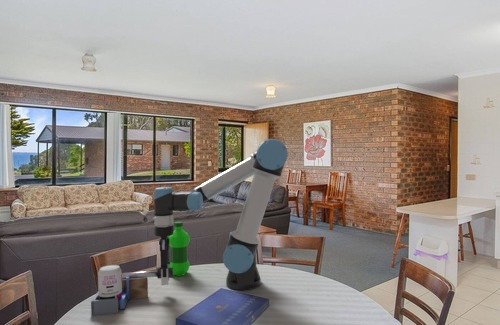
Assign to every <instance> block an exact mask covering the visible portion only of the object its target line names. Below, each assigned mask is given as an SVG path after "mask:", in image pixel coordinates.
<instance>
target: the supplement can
mask: <svg viewBox="0 0 500 325" xmlns="http://www.w3.org/2000/svg"><path fill="white" fill-rule="evenodd" d="M122 273H123V272H122V269H121V267H120V265H118V264H109V265H108V264H107V265H104V266H101V267H99V270H98V271H97V290H98V291H97V292H98V300H102V299H113V298H118V309H120V298H121V296H122Z"/></svg>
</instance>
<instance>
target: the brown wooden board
mask: <svg viewBox="0 0 500 325" xmlns="http://www.w3.org/2000/svg"><path fill="white" fill-rule="evenodd" d="M148 278H149V277H148ZM148 278H135V279H129V281H130V299H129V300H132V299H133V300H134V299H144V298H148V297H149V285H148V284H149V282H148V281H149V280H148ZM122 287H124V291H126V279H122Z"/></svg>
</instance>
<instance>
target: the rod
mask: <svg viewBox="0 0 500 325" xmlns="http://www.w3.org/2000/svg"><path fill="white" fill-rule="evenodd" d="M159 268H160V267H158V268H157V270H149V271H148V270H147V271H134V272H133V271H132V272H131V271H130V272H122V279H126V291H124V292H123V294H122V296H121V298H120V307H119V310H124V309H125V308H126V305H127V303H128V301H129V300H131V299H130V281H129V279H135V278H157V279H158V280H161V269H159ZM168 278H169V279H171V278H174V274H173V267H171V268H168Z"/></svg>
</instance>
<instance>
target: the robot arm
mask: <svg viewBox="0 0 500 325" xmlns="http://www.w3.org/2000/svg"><path fill="white" fill-rule="evenodd" d="M288 151H289V150H288V148H287V146H286V145H285V143H284V142H283V141H281V140H279V139H276V138H267V139H265V140H263V141H262V142H261V143H260V144H259V146H258V147H257V148H256V151H253V152H251V155H250V156H249V157H248V158H246V159H245V160H242V161H240V162H239V163H237V164H235V165H234V166H233V165H232V166H231V167H230V168H229V169H227V170H225V171H222V173H219V174H218V175H216V176H214V177H212V178H210V179H209V180H207V181H205V182H203V183H202V184H200V185H198V186H196V187H194V188H193V189H191V190H187V191H178V192H177V191H174V190H173V188H172V187H171V186H161V187H156V188H155V189H153V211H154V212H153V213H154V214H153V215H154V217H152V220H153V222H154V225H155V226H154V236H156V237H160V238H159V240H158V244H159V252H160V255H159V256H160V267H158V268H159V269H161V279H160V281H161V283H160V285H161V286H168V285H169V281H170V278H168V268H169V265H170V263H171V261H170V259H169V258H170V257H169V250H170V246H169V242H170V239H169V238H168V237H169V236H171V235H173V233H174V230H175V229H174V228H175V227H174V222H175V221H174V212H175V211H178V212H179V211H186V212H187V211H188V212H189V211H191V212H195V211H200V210H201V211H202V208H203V204H204V203H206V202H208V201H209V200H211V199H213V198H215V197H216V196H219V195H221V194H222V193H224V192H225V191H228V190H229V189H230V188H233V187H235V186H236V185H238V184H239V183H241V182H244V181H246V180H247V179H250V177H252V176H253V177H252V180H251V183H250V187H249V189H248V192H247V195H246V199H245V201H244V204H243V208H242V210H241V213H240V217H239V221H238V223H237V227H236V229H235V230H234V231H230V232H229V237H228V242H227V244H226V247H225V249H224V250H223V253H222V261H223V265H224V266H225V268H226V269H227V270H228V273H227V275H226V280H225V281H226V282H225V285H226V286H227V287H228V288H230V289H231V290H237V291H238V290H239V291H246V290H247V291H248V290H253V289H256V288H258V287H260V286H261V283H262V281H261V280H262V278H261V275H260V273H259V270H258V267H257V249H258V246H259V242H260V241H259V239H258V233H259V231H260V228H261V224H262V221H263V218H264V216H265V212H266V210H267V206H268V203H269V200H270V198H271V194H272V191H273V188H274V186H275V183H276V180H278V179H279V178H281V176H282V173H283V170H284V166H285V164H286V163H287V161H288V160H287V159H288V156H289V155H288V154H289V152H288Z"/></svg>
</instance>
